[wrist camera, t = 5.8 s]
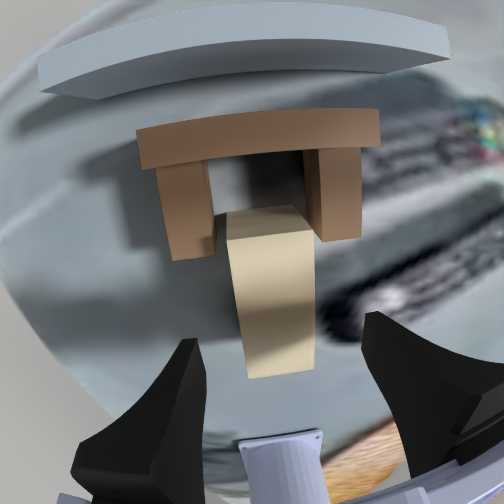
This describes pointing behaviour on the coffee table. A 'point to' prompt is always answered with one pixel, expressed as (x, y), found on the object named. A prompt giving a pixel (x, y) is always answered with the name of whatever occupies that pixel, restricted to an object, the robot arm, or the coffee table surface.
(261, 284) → the cream wooden bar
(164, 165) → the brown u-shaped bracket
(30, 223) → the coffee table surface
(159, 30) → the backstop wall
